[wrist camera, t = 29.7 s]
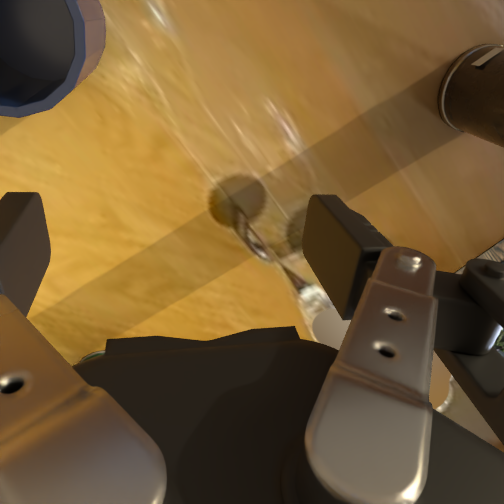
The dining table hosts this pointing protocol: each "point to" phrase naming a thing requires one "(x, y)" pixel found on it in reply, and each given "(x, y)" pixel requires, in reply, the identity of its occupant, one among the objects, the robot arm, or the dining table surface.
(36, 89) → the canister
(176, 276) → the dining table surface
